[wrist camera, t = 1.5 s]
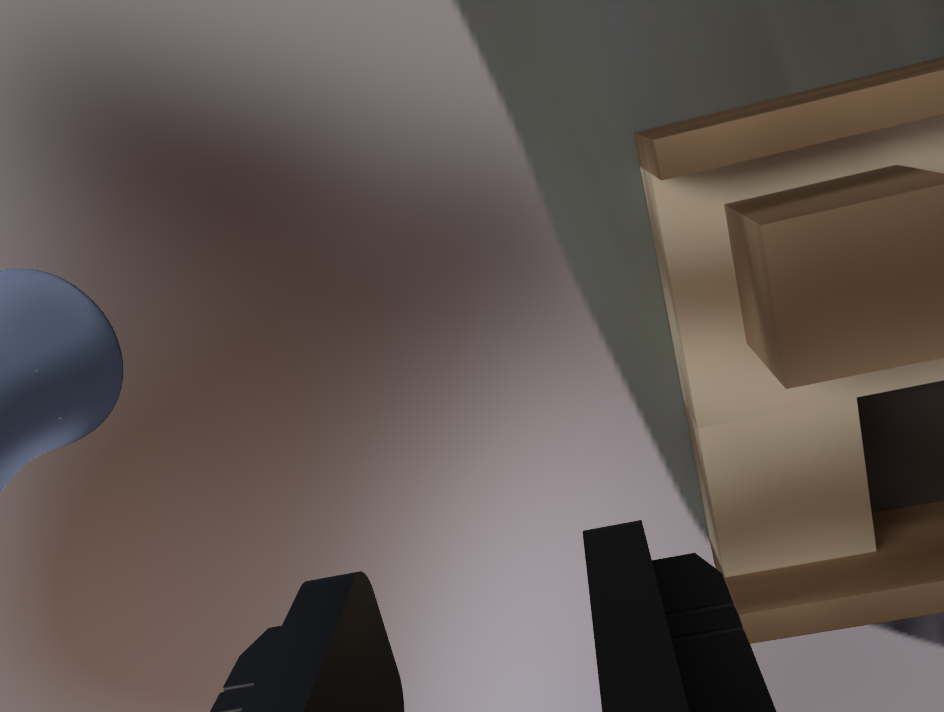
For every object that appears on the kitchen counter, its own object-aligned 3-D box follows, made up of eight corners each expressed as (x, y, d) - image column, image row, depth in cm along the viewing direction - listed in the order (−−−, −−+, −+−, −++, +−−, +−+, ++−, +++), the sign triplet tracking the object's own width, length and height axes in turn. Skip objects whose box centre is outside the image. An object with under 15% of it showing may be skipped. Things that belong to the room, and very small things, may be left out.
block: (723, 204, 23) (761, 225, 19) (896, 164, 23) (969, 178, 19) (746, 343, 24) (786, 389, 21) (912, 309, 24) (984, 349, 20)
